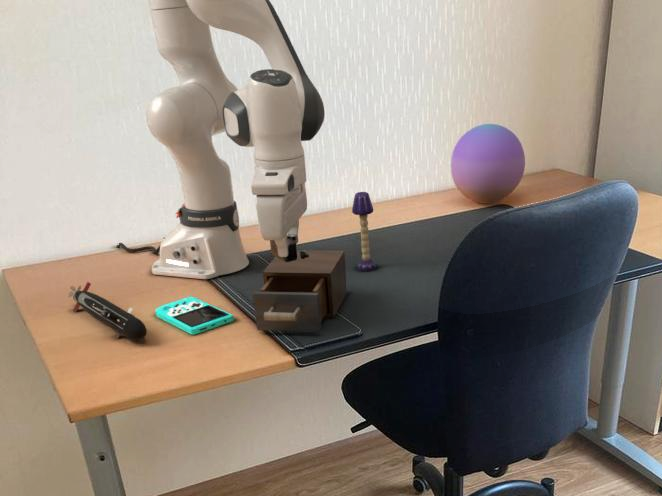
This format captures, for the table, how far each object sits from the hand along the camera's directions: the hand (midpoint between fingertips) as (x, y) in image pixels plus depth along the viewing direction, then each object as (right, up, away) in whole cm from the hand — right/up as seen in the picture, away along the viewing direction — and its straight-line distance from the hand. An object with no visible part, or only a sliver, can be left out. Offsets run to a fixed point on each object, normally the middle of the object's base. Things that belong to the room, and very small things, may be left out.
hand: (288, 250), depth 155 cm
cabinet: (+3, -6, +17) cm, 18 cm away
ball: (+48, +34, +76) cm, 96 cm away
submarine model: (-38, -12, +13) cm, 42 cm away
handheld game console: (-21, -10, +14) cm, 27 cm away
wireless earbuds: (0, -1, +1) cm, 2 cm away
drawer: (0, -12, +7) cm, 14 cm away
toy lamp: (+14, +5, +34) cm, 37 cm away
